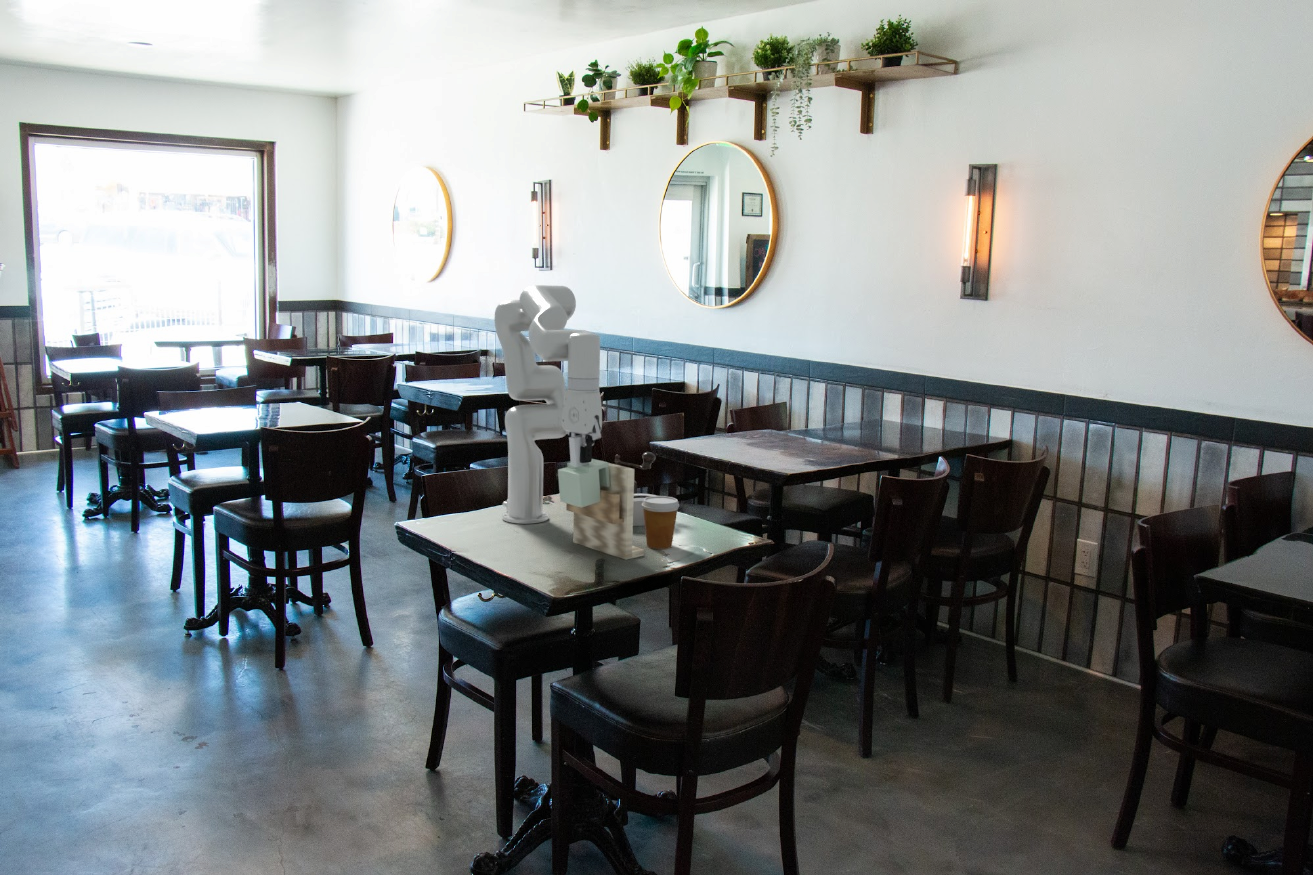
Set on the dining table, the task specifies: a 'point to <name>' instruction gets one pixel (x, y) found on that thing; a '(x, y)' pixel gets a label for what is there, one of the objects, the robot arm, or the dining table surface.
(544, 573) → the dining table surface
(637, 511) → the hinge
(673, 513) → the disposable coffee cup
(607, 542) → the wall board
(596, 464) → the mint green box
